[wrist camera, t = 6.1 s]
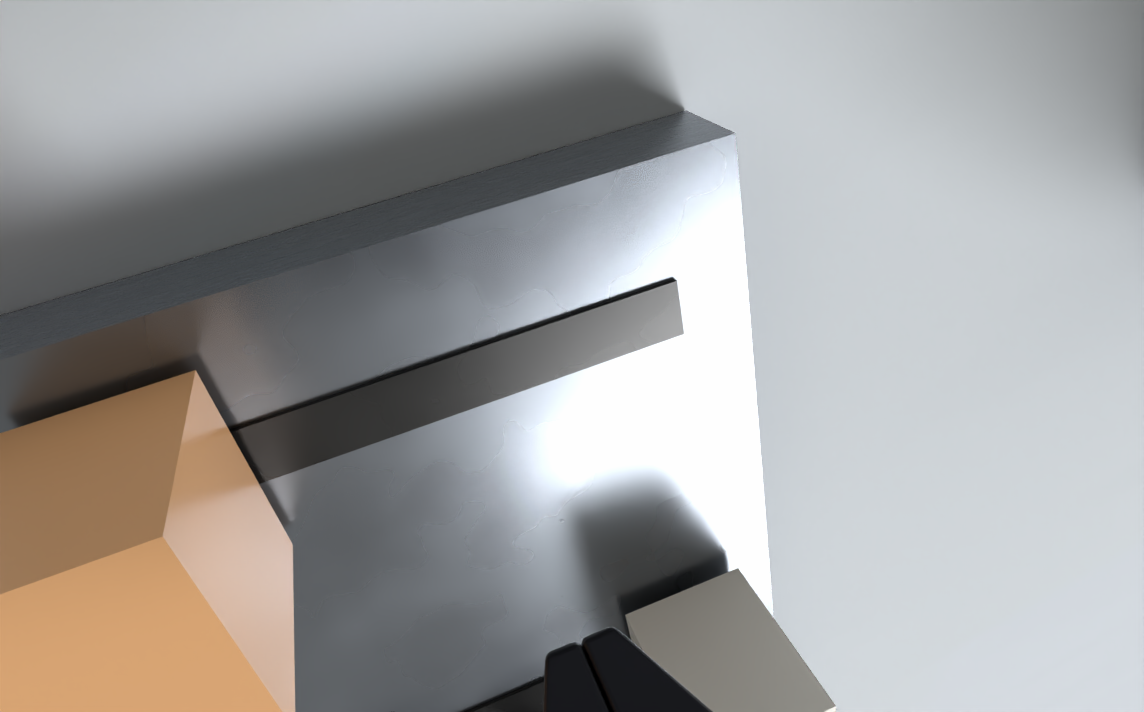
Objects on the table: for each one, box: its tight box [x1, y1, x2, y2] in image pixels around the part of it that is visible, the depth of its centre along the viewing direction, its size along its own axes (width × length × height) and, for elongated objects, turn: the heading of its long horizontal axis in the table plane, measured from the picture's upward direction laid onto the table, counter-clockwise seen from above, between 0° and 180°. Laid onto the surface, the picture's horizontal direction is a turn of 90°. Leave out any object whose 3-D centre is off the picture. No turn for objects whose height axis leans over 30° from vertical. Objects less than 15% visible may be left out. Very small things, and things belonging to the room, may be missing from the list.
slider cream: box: [625, 568, 836, 712], centre depth 18 cm, size 3×4×4 cm
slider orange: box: [0, 370, 295, 712], centre depth 11 cm, size 3×4×4 cm
